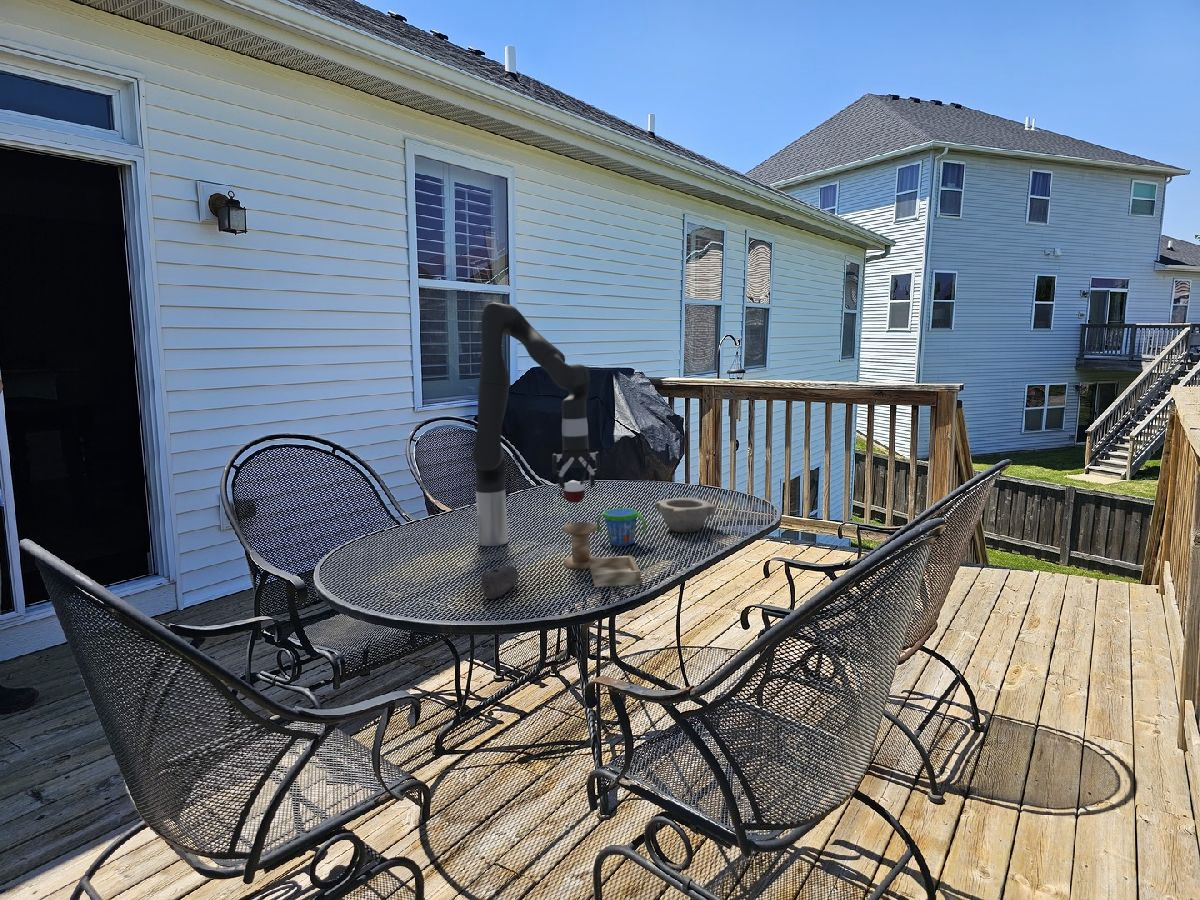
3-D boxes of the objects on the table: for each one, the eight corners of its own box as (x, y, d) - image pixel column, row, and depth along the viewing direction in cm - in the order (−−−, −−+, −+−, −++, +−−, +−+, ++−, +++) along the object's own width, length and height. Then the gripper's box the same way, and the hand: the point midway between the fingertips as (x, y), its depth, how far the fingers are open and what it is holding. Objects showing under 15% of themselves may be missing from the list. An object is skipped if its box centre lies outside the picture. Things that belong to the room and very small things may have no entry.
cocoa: (557, 502, 218) (553, 463, 216) (571, 498, 222) (568, 459, 220) (581, 505, 211) (577, 464, 210) (595, 500, 216) (592, 460, 214)
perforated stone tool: (509, 583, 195) (508, 557, 194) (526, 585, 193) (524, 559, 192) (475, 601, 182) (473, 574, 181) (492, 604, 180) (491, 577, 179)
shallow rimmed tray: (595, 587, 189) (594, 574, 189) (589, 569, 204) (589, 557, 204) (640, 584, 191) (640, 571, 190) (632, 566, 205) (632, 555, 205)
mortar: (721, 531, 238) (721, 504, 237) (676, 538, 231) (675, 510, 230) (693, 520, 253) (693, 494, 252) (650, 527, 247) (650, 500, 245)
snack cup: (591, 546, 227) (590, 514, 225) (605, 537, 236) (604, 506, 235) (639, 550, 220) (638, 517, 219) (651, 541, 230) (650, 509, 228)
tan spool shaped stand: (564, 570, 204) (563, 532, 202) (562, 559, 214) (561, 523, 212) (600, 568, 205) (599, 529, 203) (597, 557, 215) (595, 521, 213)
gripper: (550, 436, 210) (553, 491, 212) (600, 434, 211) (602, 489, 213) (550, 432, 217) (552, 486, 220) (598, 430, 218) (600, 484, 221)
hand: (577, 487), depth 216 cm, fingers closed on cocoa, 8 cm apart
